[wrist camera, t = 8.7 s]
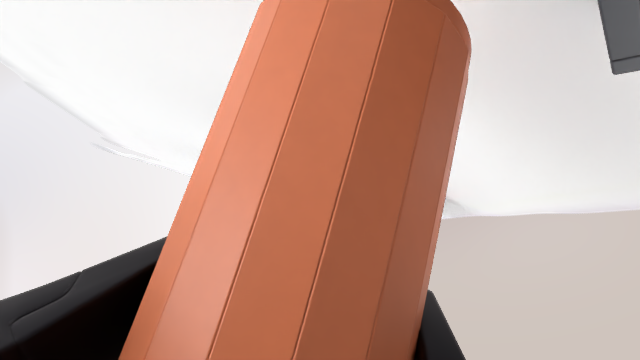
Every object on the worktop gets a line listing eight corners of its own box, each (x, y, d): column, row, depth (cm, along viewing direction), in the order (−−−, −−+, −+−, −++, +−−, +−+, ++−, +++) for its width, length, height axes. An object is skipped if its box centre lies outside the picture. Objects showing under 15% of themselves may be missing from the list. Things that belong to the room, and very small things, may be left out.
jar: (225, 23, 10) (44, 451, 7) (383, -115, 5) (29, 993, 2) (350, 117, 14) (264, 419, 11) (506, 87, 9) (424, 603, 6)
